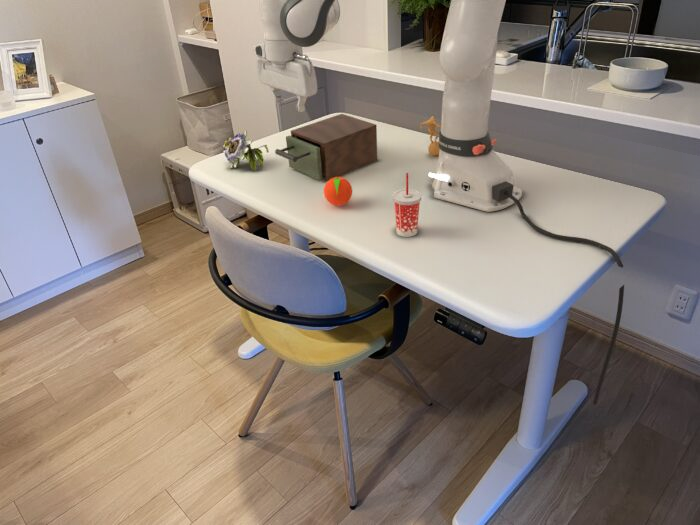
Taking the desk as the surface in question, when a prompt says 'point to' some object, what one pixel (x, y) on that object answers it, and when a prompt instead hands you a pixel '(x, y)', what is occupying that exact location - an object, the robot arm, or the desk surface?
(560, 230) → the desk surface
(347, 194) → the clementine
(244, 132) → the passion flower
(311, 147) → the drawer
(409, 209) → the beverage cup
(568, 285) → the desk surface
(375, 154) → the cabinet
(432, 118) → the figurine
